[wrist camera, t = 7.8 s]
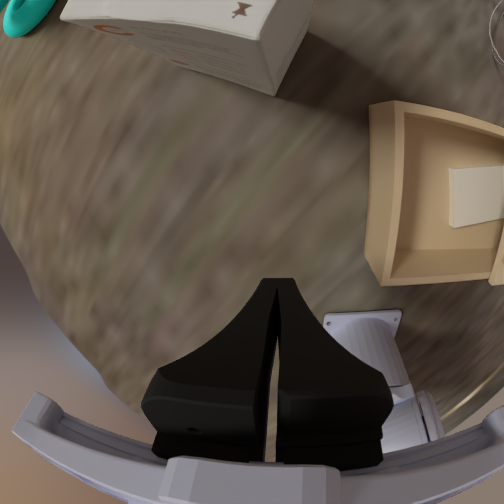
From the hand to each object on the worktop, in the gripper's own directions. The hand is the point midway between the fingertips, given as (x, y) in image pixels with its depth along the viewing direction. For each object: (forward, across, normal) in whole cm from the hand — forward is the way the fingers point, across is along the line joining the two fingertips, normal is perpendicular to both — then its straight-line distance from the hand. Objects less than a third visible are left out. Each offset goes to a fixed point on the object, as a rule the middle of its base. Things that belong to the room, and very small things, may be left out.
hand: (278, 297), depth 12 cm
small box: (+11, +2, -14) cm, 18 cm away
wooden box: (+10, -16, -3) cm, 19 cm away
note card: (+10, -18, -3) cm, 21 cm away
